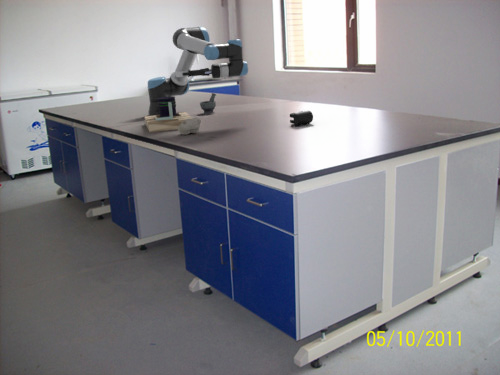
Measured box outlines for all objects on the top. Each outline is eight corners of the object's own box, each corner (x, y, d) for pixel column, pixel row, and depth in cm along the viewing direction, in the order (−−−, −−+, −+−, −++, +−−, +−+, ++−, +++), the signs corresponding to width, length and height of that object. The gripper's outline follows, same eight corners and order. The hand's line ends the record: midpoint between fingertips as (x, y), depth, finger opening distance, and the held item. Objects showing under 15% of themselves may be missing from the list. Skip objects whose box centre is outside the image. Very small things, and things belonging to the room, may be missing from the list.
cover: (155, 119, 278) (153, 103, 275) (171, 117, 280) (169, 101, 278) (156, 121, 270) (154, 105, 267) (173, 120, 272) (171, 103, 269)
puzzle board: (145, 124, 296) (144, 115, 294) (186, 119, 301) (185, 110, 300) (149, 132, 268) (148, 122, 266) (194, 127, 274) (193, 117, 272)
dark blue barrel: (157, 125, 289) (154, 98, 285) (166, 122, 298) (163, 96, 294) (172, 125, 286) (169, 98, 281) (181, 122, 294) (178, 96, 290)
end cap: (298, 127, 253) (298, 113, 251) (289, 126, 259) (288, 112, 257) (313, 124, 259) (313, 111, 257) (304, 123, 264) (303, 109, 262)
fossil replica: (174, 135, 255) (190, 138, 250) (172, 119, 252) (188, 122, 247) (189, 129, 264) (204, 131, 259) (187, 113, 261) (203, 115, 256)
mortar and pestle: (205, 114, 317) (203, 95, 314) (198, 113, 325) (196, 94, 321) (221, 112, 323) (219, 92, 320) (213, 110, 330) (211, 92, 327)
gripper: (222, 78, 270) (178, 82, 265) (217, 77, 283) (175, 80, 278) (221, 64, 268) (176, 67, 263) (216, 63, 281) (173, 66, 276)
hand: (176, 74), depth 270 cm, fingers closed
